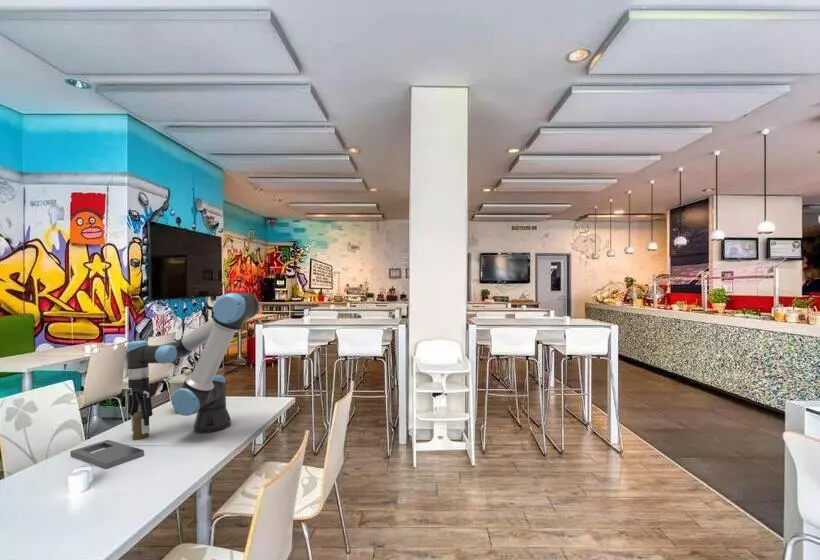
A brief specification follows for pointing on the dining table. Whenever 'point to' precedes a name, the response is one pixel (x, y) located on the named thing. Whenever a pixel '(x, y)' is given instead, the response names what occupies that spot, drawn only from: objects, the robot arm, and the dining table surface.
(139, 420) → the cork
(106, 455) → the jig
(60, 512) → the dining table surface
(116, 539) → the dining table surface
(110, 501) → the dining table surface
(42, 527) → the dining table surface
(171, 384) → the canister
